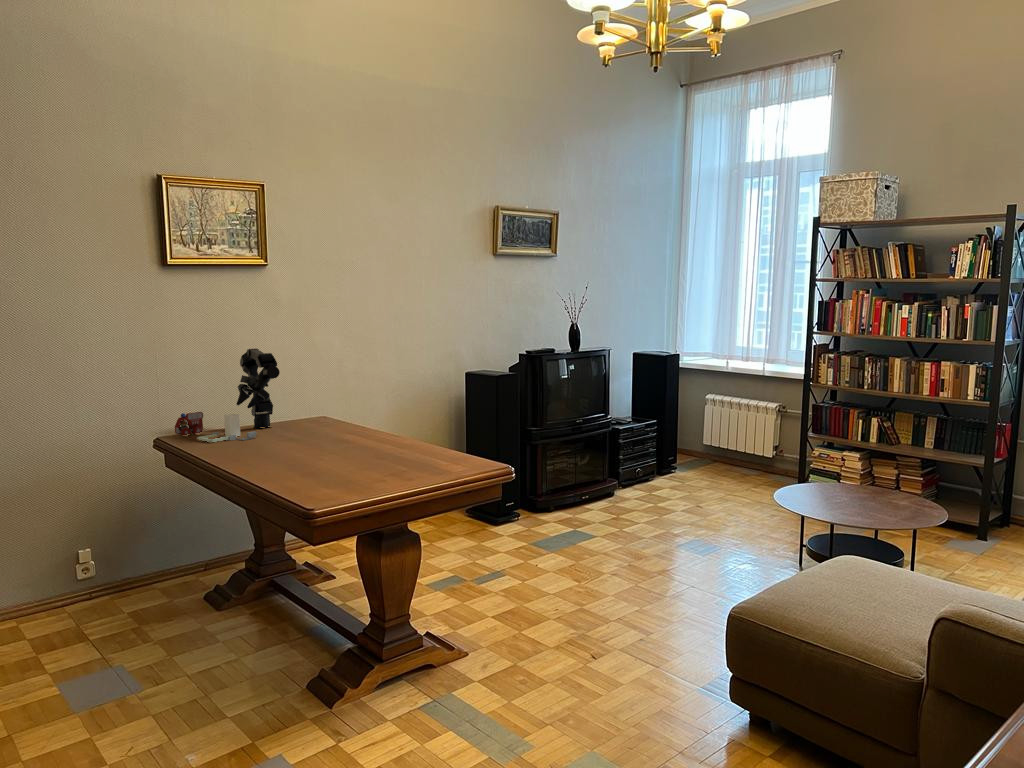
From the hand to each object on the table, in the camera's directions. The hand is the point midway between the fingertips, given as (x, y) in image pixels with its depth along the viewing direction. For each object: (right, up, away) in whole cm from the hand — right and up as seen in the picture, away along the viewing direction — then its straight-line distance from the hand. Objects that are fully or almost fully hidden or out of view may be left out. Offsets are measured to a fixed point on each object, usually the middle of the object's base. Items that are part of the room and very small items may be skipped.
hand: (242, 406), depth 340 cm
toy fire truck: (-25, -13, +3) cm, 28 cm away
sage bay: (-8, -14, -12) cm, 21 cm away
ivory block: (-3, -14, -5) cm, 14 cm away
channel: (-3, -13, -5) cm, 14 cm away
